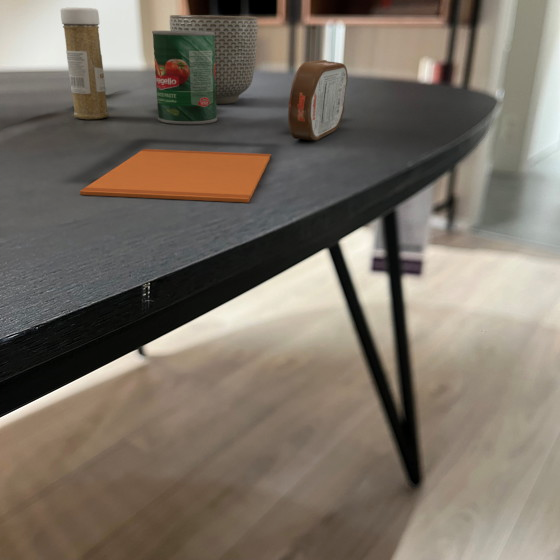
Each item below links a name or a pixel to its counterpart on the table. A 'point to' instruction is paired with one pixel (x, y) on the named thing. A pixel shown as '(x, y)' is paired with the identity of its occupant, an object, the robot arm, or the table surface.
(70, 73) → the spice jar
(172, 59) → the canned tomato
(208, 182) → the orange flat rectangular slab
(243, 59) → the planter
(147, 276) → the table surface
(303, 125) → the tin
